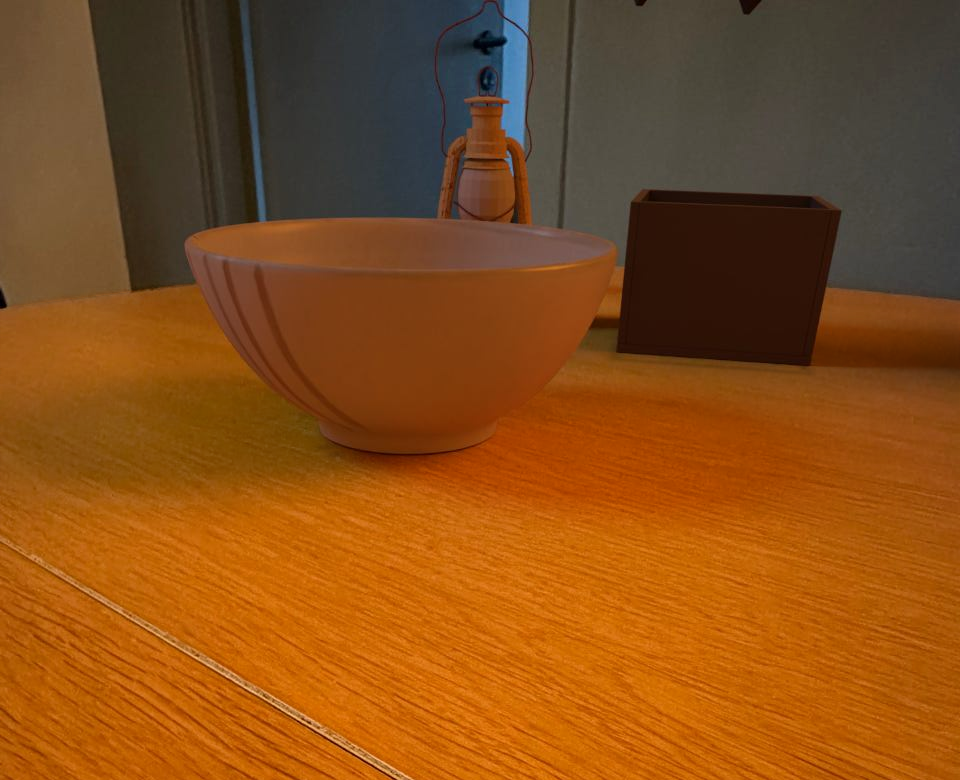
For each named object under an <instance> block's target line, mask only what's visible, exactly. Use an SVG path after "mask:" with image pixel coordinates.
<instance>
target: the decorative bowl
mask: <svg viewBox="0 0 960 780" xmlns="http://www.w3.org/2000/svg"><path fill="white" fill-rule="evenodd" d="M184 250H185V255H186V258H187V261H188V264H189V267H190V269H191V272H192V274H193V277H194V280H195V282H196V285H197V286H198V289H199V290H200V293H201V296H202V297H203V299H204V302H205V303H206V305H207V306H208V310H209V311H210V313H211V314H212V316H213V318H214V319H215V322H216V323H217V324H218V326H219V328H220V329H221V331H222V333H223V334H224V335H225V337H226V338H227V341H229V343H230V344H231V346H232V347H233V349H234V350H235V351H236V352H237V354H238V355H239V356H240V358H241V359H242V360H243V361H244V362H245V364H246V365H247V366H248V367H249V368H250V369H251V370H252V372H254V374H255V375H257V377H258V378H259V379H261V381H262V382H263V383H265V385H266V386H268V387H269V388H270V389H271V390H272V391H273V392H275V393H276V394H277V395H278V396H280V397H281V398H282V399H284V400H285V401H287V402H288V403H290V404H291V405H292V406H294V407H296V408H297V409H299V410H301V411H302V412H304V413H306V414H308V415H310V416H312V417H314V418H315V419H316V420H317V424H318V428H319V431H320V433H321V435H323V436H324V437H325V438H326V439H329V440H330V441H332V442H334V443H335V444H338V445H341V446H344V447H347V448H351V449H355V450H359V451H366V452H371V453H378V454H389V455H390V454H391V455H424V454H439V453H445V452H451V451H452V452H453V451H458V450H462V449H467V448H470V447H472V446H476V445H478V444H480V443H483V442H484V441H487V440H488V439H489V438H491V437H492V436H493V435H494V434H496V433H495V432H496V430H497V427H498V421H499V419H500V418H501V417H503V416H505V415H508V414H509V413H511V412H513V411H514V410H516V409H517V408H519V407H520V406H522V405H524V404H525V403H527V402H528V401H529V400H531V399H532V398H533V397H534V396H536V395H537V394H538V393H539V392H540V391H541V390H543V389H544V388H545V387H546V386H547V385H548V384H549V383H550V381H551V380H552V379H554V377H555V376H556V375H558V373H559V371H561V369H562V368H563V367H564V366H565V364H566V363H567V362H568V361H569V359H570V358H571V357H572V355H573V354H574V353H575V351H576V350H577V348H578V347H579V345H580V344H581V342H582V341H583V339H584V337H585V336H586V334H587V332H588V330H589V328H590V327H591V325H592V323H593V322H594V320H595V317H596V315H597V313H598V311H599V310H600V308H601V304H602V303H603V301H604V297H605V295H606V293H607V291H608V288H609V284H611V283H610V282H611V280H612V278H613V274H614V272H615V269H616V268H615V267H616V265H617V261H618V257H619V250H618V247H617V246H616V244H615V243H613V242H612V241H610V240H609V239H606V238H603V237H601V236H596V235H594V234H590V233H585V232H580V231H575V230H569V229H564V228H557V227H551V226H550V227H549V226H543V225H535V224H534V225H533V224H532V225H524V224H519V223H514V222H510V223H502V222H489V221H474V220H460V219H455V218H451V219H437V218H430V217H429V218H427V217H426V218H424V217H321V218H300V219H297V218H296V219H285V220H284V219H282V220H281V219H280V220H268V221H257V222H248V223H238V224H232V225H225V226H219V227H218V226H217V227H214V228H209V229H205V230H202V231H199V232H196V233H194V234H191V235H190V236H189V237H187V239H185V242H184Z"/></svg>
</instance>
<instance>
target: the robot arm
mask: <svg viewBox="0 0 960 780" xmlns="http://www.w3.org/2000/svg"><path fill="white" fill-rule="evenodd" d="M633 1H634V3H635V6H636V7H643V6H644V5H645V4H646V2H647V1H648V0H633ZM738 1H739V5H740V7H741V11H742V14H743V15H748V16H749V15H750V14H751V13H752V12H753V11H754V10H755V9H756V8H757V6H758V5H760V4H761V2H762V1H763V0H738Z"/></svg>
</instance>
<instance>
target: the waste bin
mask: <svg viewBox="0 0 960 780" xmlns="http://www.w3.org/2000/svg"><path fill="white" fill-rule="evenodd" d="M629 206H630V207H629V217H628V227H627V236H626V246H625V257H624V258H625V259H624V267H623V277H622V288H621V297H620V298H621V299H620V309H619V310H620V311H619V320H618V329H617V330H618V331H617V339H616V349H615V351H616V353H624V354H627V353H628V354H640V355H651V356H652V355H653V356H666V357H667V356H668V357H679V358H681V357H682V358H695V359H712V360H723V361H724V360H725V361H737V362H738V361H739V362H753V363H769V364H781V365H794V366H795V365H796V366H809V367H810V366H811V363H812V358H813V357H812V356H813V354H814V348H815V343H816V339H817V333H818V330H819V324H820V319H821V314H822V311H823V310H822V309H823V305H824V300H825V296H826V290H827V286H828V280H829V275H830V271H831V266H832V260H833V255H834V250H835V246H836V241H837V235H838V232H839V226H840V223H841V222H840V221H841V216H842V212H843V210H841V209H840V208H838V207H837V206H835V205H834V204H832V203H830V202H829V201H827V200H826V199H824V198H822V197H821V196H819V195H808V194H807V195H804V194H803V195H801V194H799V195H798V194H782V193H781V194H780V193H779V194H777V193H755V192H754V193H753V192H752V193H751V192H750V193H749V192H729V191H728V192H727V191H725V192H724V191H703V190H702V191H701V190H675V189H652V188H651V189H650V188H649V189H648V188H642V189H641V190H640V191H639V192H638V194H637V195H635V197H634V198H633V199H632V200H631V201H630V205H629Z"/></svg>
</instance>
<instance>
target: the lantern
mask: <svg viewBox="0 0 960 780" xmlns="http://www.w3.org/2000/svg"><path fill="white" fill-rule="evenodd" d="M487 3H494V4H495V5H496V9H497V13H498V14H499V15H500V17H501V18H503V19H504V20H505V21H507V22H509V23H510V24H512V25H514V26H515V27H516V28H517V29H519V30H520V31H521V32H522V34H523V35H524V36H525V37H526V38H527V40H528V43H529V50H530V59H531V78H530V83H529V87H528V91H527V93H526V109H525V117H524V122H525V126H526V129H527V132H528V137H529V145H530V147H529V151H528V154H527V155H526V156H525V151H524V148H523V147H522V145H521V143H520V142H519V141H518V140H516V139H515V138H514V137H511V136H506V129H505V128H501V117H503V115H504V105H509V104H510V100H508V99H505V98H502V97H498V96H497V92H498V87H499V74H498V72H497V70H495V68H493V67H492V66H491V65H486V66H484V67H483V68H482V69H481V70H480V71H479V73H478V75H477V86H478V87H477V88H478V96H474V97H469V98H465V99H463V102H464V103H465V104H470V107H469V110H470V111H469V112H470V113H469V115H470V116H472V128H471V127H468V128H466V135H461V136H458V137H457V138H455V139H454V140H453V141H452V142H451V143H450V145H449V147H448V150H447V153H445V151H444V133H445V127H446V121H447V119H446V101H445V98H444V95H443V92H442V89H441V86H440V82H439V78H438V72H437V58H438V56H437V55H438V50H439V44H440V41H441V39H442V37H443V36H444V35H445V34H446V33H447V32H448V31H450V30H451V29H453V28H455V27H456V26H458V25H461V24H463V23H466V22H468V21H471V20H473V19H474V18H477V17H478V16H479V15H481V14H483V11H484V10H485V7H486V6H485V5H486V4H487ZM433 66H434V77H435V81H436V85H437V88H438V91H439V94H440V97H441V100H442V106H443V107H442V108H443V110H442V111H443V113H442V115H443V124H442V129H441V137H440V140H441V141H440V146H441V147H440V149H441V152H442V154H443V156H444V157H445V158H446V159H445V164H444V171H443V177H442V183H441V187H440V195H439V202H438V209H437V216H436V217H437V218H436V219H452V211H453V204H454V205H456V209H457V215H458V218H459V220H474V221H489V222H502V223H511V220H512V218H513V216H514V211H515V207H516V208H517V221H518V224H524V225H533V220H532V208H531V197H530V189H529V181H528V172H527V171H528V170H527V163H526V162H528V159H529V157H530V155H531V152H532V151H533V142H532V141H533V140H532V135H531V130H530V128H529V123H528V112H529V111H528V109H529V101H530V92H531V89H532V85H533V80H534V75H535V74H534V55H533V44H532V41H531V38H530V37H529V35H528V34H527V32H525V30H524V29H523V28H522V27H520V25H519V24H517V23H516V22H514V21H513V20H511V19H509V18H508V17H506V16H505V15H504V14H503V13H502V12H501V10H500V6H499V2H498V1H496V0H484V1H483V3H482V7H481V9H480V10H479V11H478V12H477V13H476V14H473V15H471V16H470V17H467V18H465V19H462V20H460V21H458V22H456V23H454V24H452V25H451V26H448V27H447V28H445V30H444V31H443V32H442V33H441V34H440V35H439V37H438V39H437V41H436V46H435V52H434V65H433ZM486 69H491V70H492V71H493V73H495V75H496V85H495V92H494V95H493V94H490V90H485V94H481V85H480V77H481V74H482V73H483V72H484V71H485V70H486ZM474 104H486V105H474ZM492 104H494V105H495V104H497V105H498V106H496V105H495V106H494V105H492ZM499 105H500V106H499ZM508 153H509V154H508ZM461 158H467V159H465V160H463V161H462V165H461V166H460V163H461ZM510 158H511V159H510ZM507 159H510V160H511V165H512V166H511V167H510V161H507ZM459 168H462V169H461V172H460V174H459ZM511 168H512V170H511ZM458 174H459V177H458ZM456 185H457V188H456ZM455 191H456V195H455ZM455 196H456V197H455ZM454 198H456V200H454Z"/></svg>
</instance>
